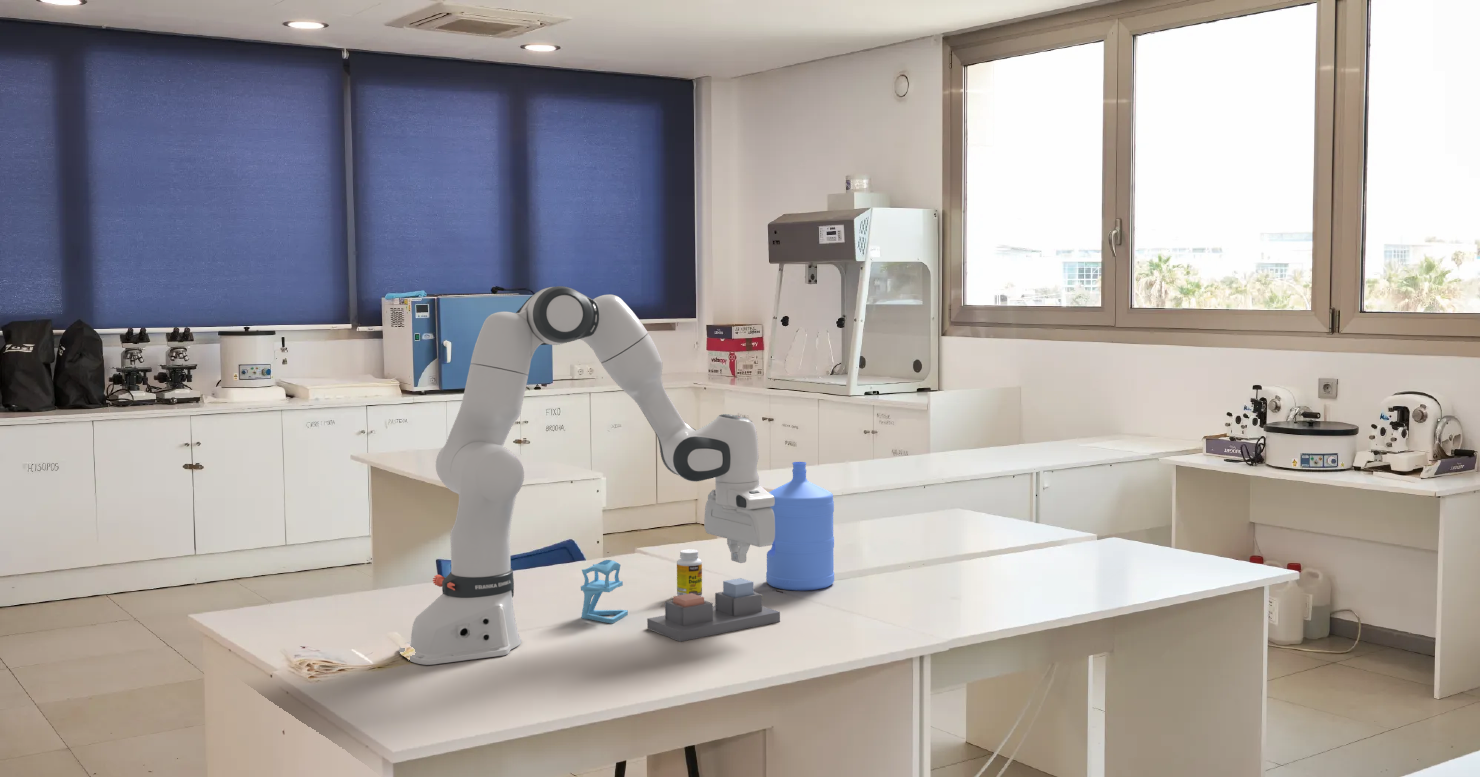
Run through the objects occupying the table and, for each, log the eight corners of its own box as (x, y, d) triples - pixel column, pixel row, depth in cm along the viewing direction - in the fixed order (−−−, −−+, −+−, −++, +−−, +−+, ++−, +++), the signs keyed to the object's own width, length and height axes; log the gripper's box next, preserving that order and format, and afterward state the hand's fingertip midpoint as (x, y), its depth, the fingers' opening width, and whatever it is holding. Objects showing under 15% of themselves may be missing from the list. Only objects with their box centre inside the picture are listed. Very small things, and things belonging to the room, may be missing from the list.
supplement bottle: (688, 601, 264) (687, 554, 263) (671, 596, 268) (671, 551, 267) (707, 596, 268) (707, 550, 267) (690, 592, 272) (690, 547, 271)
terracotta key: (685, 615, 237) (685, 600, 237) (673, 611, 241) (673, 596, 241) (704, 612, 240) (704, 597, 240) (692, 607, 243) (691, 593, 243)
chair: (592, 612, 256) (591, 555, 255) (628, 614, 253) (627, 557, 252) (575, 621, 249) (574, 563, 248) (612, 623, 246) (611, 565, 245)
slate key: (735, 599, 244) (735, 585, 244) (723, 595, 248) (723, 581, 248) (753, 596, 247) (753, 581, 246) (741, 592, 250) (740, 578, 250)
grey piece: (679, 641, 232) (679, 613, 232) (647, 628, 242) (647, 601, 242) (780, 621, 246) (779, 594, 246) (745, 609, 256) (745, 584, 255)
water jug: (846, 580, 282) (845, 460, 280) (813, 594, 269) (812, 468, 267) (787, 573, 290) (786, 456, 288) (753, 586, 277) (752, 464, 275)
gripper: (696, 489, 252) (697, 555, 254) (754, 502, 236) (755, 572, 237) (721, 486, 256) (722, 551, 257) (780, 498, 239) (781, 567, 240)
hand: (738, 561), depth 247 cm, fingers closed
